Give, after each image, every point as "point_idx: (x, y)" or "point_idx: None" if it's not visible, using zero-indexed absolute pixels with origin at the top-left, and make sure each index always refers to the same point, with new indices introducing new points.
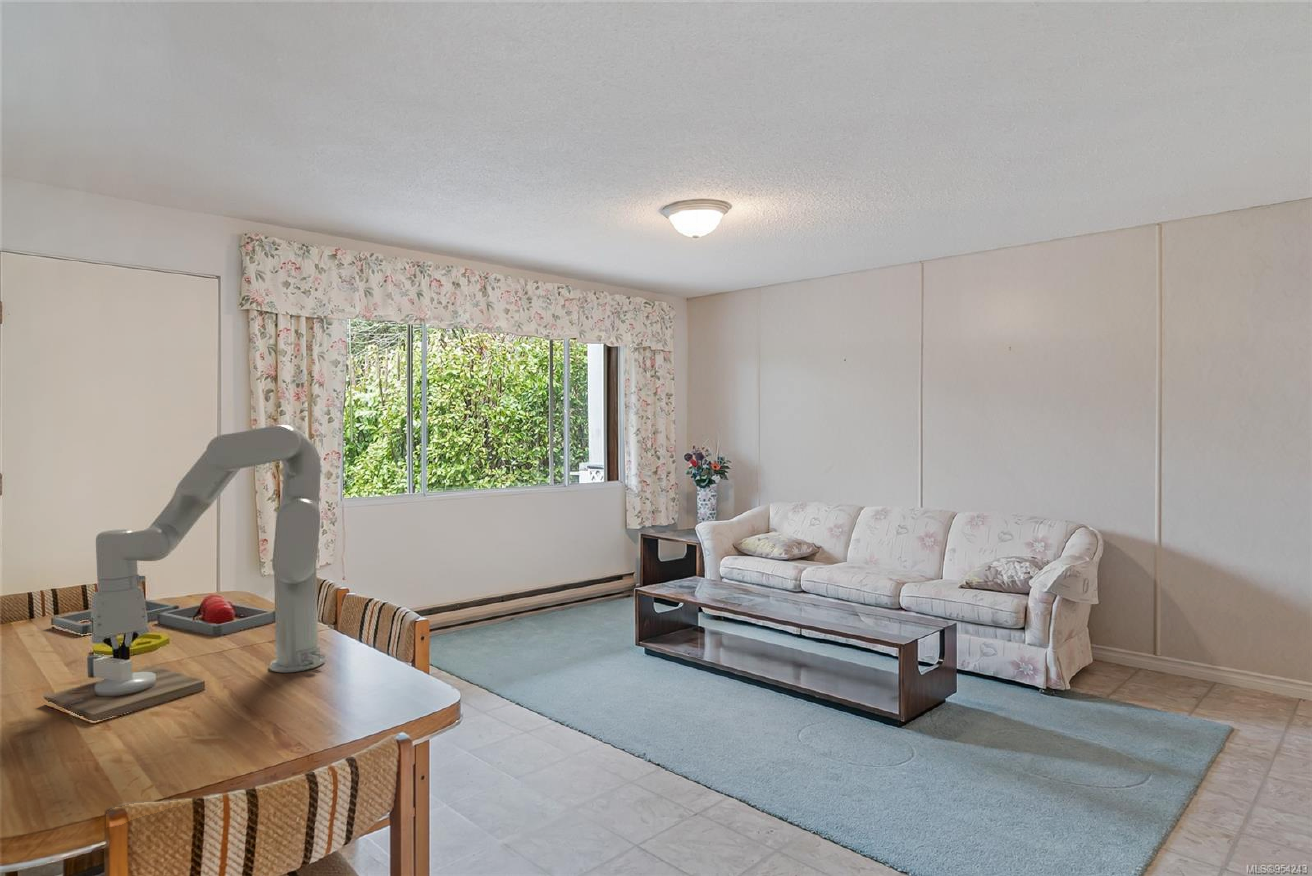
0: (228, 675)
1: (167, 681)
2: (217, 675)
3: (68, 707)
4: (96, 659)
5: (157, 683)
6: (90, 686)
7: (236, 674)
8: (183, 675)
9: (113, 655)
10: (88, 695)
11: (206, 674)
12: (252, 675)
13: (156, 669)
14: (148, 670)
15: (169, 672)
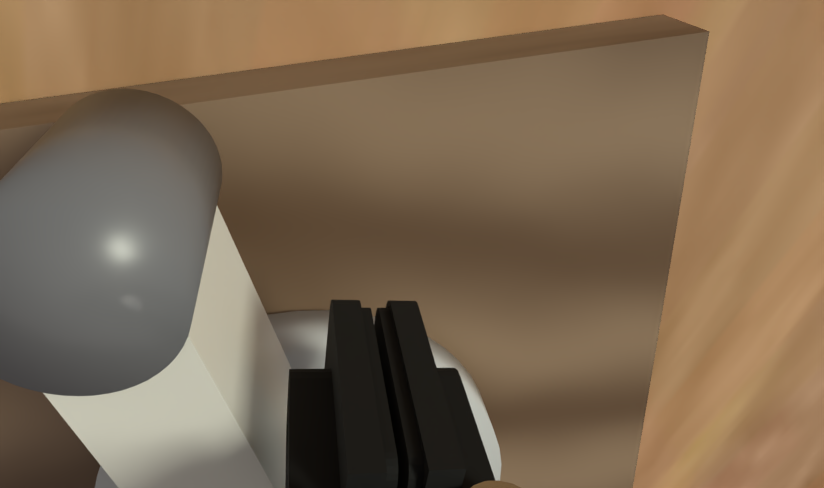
0: (794, 415)
1: (521, 483)
2: (780, 379)
3: None
4: (77, 428)
5: None
6: None
7: (817, 426)
8: (633, 442)
9: (286, 468)
10: (62, 441)
11: (779, 320)
12: (820, 482)
13: (651, 168)
14: (606, 138)
15: (639, 327)
